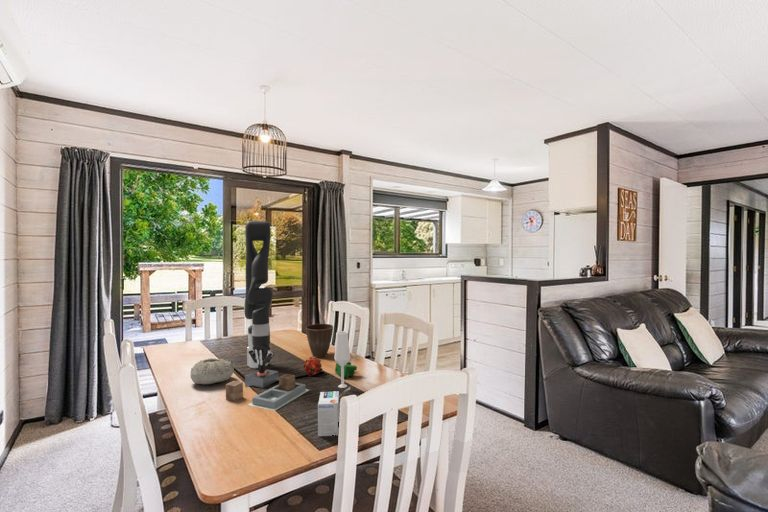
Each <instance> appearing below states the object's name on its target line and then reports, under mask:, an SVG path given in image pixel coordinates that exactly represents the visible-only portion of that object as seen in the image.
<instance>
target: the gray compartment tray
mask: <svg viewBox="0 0 768 512" xmlns="http://www.w3.org/2000/svg"><path fill="white" fill-rule="evenodd" d="M309 391H310V389H308V388H306V384H305V383H300V382H299V383H298V382H295V388H294V389H293V390H291V391H283V390H279V383H278V384H277V385H275V386H273V387H270V388H268V389H266V390H265V391H263V392H261V393H258V394H257V395H254V396H253V397H252V398H251V399H252V400H251V401H252V402H250V403H248V404H247V406H249V407H255V408H260V409H265V410H269V411H274V412H275V411H278V409H281V408H282V407H284V406H286V405H287V404H288V403H291V402H292V401H294V400H295V399H297V398H298V397H300V396H302V395H304V394H306V393H307V392H309Z"/></svg>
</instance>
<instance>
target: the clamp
mask: <svg viewBox="0 0 768 512" xmlns="http://www.w3.org/2000/svg"><path fill="white" fill-rule="evenodd" d="M335 363H336V362H335ZM357 368H358V366H356V365H353V364H352V363H351V362H350V361H349V362H348V363H347V364H346V365H344V379H348V378H349V376H354V375H355V371H357ZM334 373H335V374H337V375H338V376H340V377H341V366H340V365H339V364H338V363H336V364H335V369H334Z"/></svg>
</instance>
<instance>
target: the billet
mask: <svg viewBox="0 0 768 512" xmlns="http://www.w3.org/2000/svg"><path fill="white" fill-rule="evenodd" d="M295 383H296V374H291V373H290V374H289V373H285V374H282V375H281V376H279V380H278V384H279V390H283V391H291V390H293V389H294V388H295Z"/></svg>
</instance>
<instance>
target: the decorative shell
mask: <svg viewBox="0 0 768 512" xmlns="http://www.w3.org/2000/svg"><path fill="white" fill-rule="evenodd" d="M234 369H235V368H234V365H233V363H231V362H230V361H229V360H228V359H224V358H216V357H215V358H206V359H201V360H199V361H198V362H196V363H195V364H194V365H193V366H192V367H191V369H190V379H191V382H193V383H194V384H197V385H205V386H206V385H212V384H216V383H217V384H218V383H222V382H226V381H228V380H229V379H230V378H231V377H232V376H233V373H234Z"/></svg>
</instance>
